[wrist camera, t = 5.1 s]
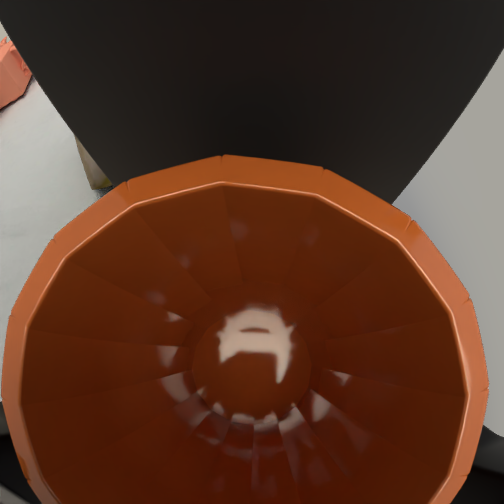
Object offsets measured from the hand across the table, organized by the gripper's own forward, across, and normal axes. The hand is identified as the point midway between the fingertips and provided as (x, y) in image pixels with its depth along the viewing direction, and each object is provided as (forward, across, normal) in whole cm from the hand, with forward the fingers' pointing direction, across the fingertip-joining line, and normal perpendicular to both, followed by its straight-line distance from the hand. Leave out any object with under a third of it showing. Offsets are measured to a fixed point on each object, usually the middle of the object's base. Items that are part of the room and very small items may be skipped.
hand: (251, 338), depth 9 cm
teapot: (+24, +35, -14) cm, 45 cm away
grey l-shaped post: (+8, 0, +3) cm, 9 cm away
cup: (+4, 0, +6) cm, 7 cm away
